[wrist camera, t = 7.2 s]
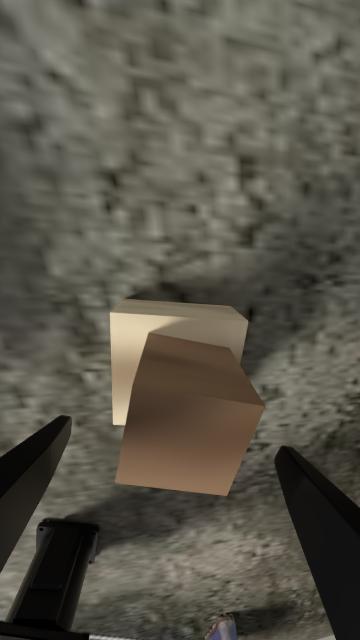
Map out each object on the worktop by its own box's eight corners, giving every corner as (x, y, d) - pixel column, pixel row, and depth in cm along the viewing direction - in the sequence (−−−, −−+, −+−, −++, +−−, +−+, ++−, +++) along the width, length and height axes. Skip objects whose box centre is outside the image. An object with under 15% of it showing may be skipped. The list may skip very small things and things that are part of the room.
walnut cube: (208, 412, 14) (226, 496, 9) (135, 401, 13) (114, 482, 9) (229, 348, 12) (265, 406, 8) (148, 332, 12) (132, 384, 7)
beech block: (215, 391, 18) (227, 428, 14) (125, 387, 18) (113, 424, 14) (229, 305, 16) (248, 321, 12) (125, 297, 15) (110, 312, 11)
